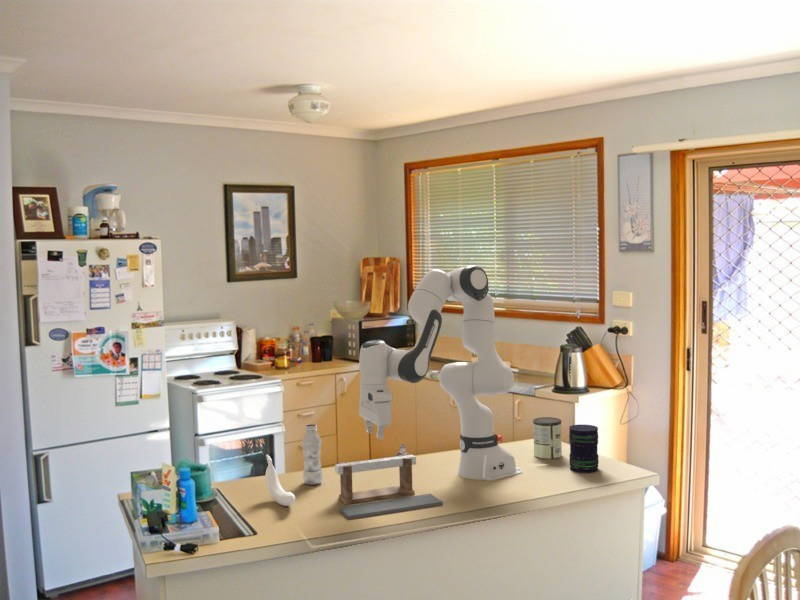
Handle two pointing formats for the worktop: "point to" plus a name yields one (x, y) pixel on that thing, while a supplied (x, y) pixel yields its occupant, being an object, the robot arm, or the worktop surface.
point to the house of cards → (402, 450)
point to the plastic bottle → (312, 456)
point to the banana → (277, 486)
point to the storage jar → (583, 448)
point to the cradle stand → (376, 494)
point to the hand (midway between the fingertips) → (374, 435)
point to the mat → (390, 506)
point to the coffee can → (547, 438)
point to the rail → (374, 464)
